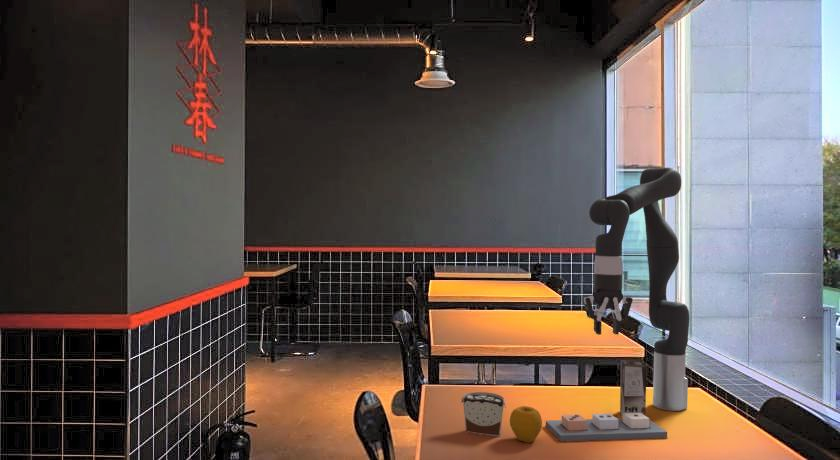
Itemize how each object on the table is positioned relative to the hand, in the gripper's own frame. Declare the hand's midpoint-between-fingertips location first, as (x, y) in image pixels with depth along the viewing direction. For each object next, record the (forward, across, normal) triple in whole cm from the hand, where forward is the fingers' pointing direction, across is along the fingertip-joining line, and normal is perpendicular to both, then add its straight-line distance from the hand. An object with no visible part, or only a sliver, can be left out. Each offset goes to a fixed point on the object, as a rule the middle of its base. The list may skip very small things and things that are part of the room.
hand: (606, 333), depth 171 cm
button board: (+27, 0, 0) cm, 27 cm away
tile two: (+26, 0, 0) cm, 26 cm away
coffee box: (+28, -14, -12) cm, 33 cm away
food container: (+28, +33, -4) cm, 43 cm away
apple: (+28, +24, +4) cm, 37 cm away
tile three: (+26, +9, 0) cm, 27 cm away
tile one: (+26, -9, 0) cm, 27 cm away
